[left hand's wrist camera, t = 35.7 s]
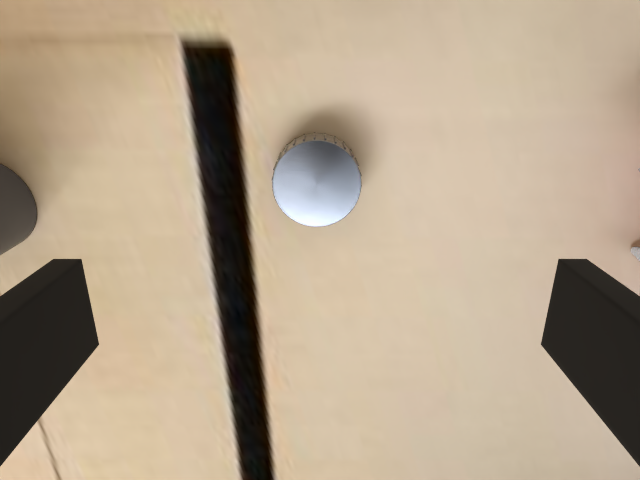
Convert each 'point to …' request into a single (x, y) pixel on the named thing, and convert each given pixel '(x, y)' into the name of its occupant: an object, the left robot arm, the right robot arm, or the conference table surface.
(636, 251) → the fish
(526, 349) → the conference table surface
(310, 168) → the cap
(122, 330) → the conference table surface
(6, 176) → the bottle
